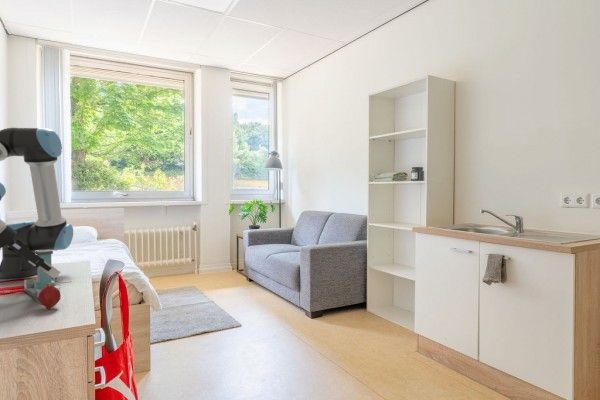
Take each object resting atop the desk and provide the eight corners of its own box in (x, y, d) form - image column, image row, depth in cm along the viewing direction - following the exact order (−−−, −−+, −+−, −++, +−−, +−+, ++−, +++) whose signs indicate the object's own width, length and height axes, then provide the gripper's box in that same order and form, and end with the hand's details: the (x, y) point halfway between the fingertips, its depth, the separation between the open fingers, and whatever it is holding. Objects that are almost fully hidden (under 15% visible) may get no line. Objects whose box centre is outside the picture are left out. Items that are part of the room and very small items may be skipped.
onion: (41, 307, 117) (40, 282, 117) (62, 304, 120) (62, 280, 119) (36, 312, 112) (35, 286, 112) (58, 310, 114) (58, 284, 114)
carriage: (34, 289, 129) (33, 251, 128) (51, 286, 132) (51, 249, 132) (37, 291, 126) (36, 252, 125) (55, 288, 129) (54, 250, 129)
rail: (24, 290, 137) (24, 278, 137) (43, 287, 142) (43, 276, 141) (39, 302, 122) (39, 289, 122) (60, 298, 127) (60, 286, 126)
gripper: (-20, 238, 126) (34, 275, 137) (-8, 245, 109) (52, 287, 120) (0, 222, 130) (51, 259, 141) (14, 226, 113) (71, 268, 124)
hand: (52, 272), depth 131 cm, fingers open, 13 cm apart
